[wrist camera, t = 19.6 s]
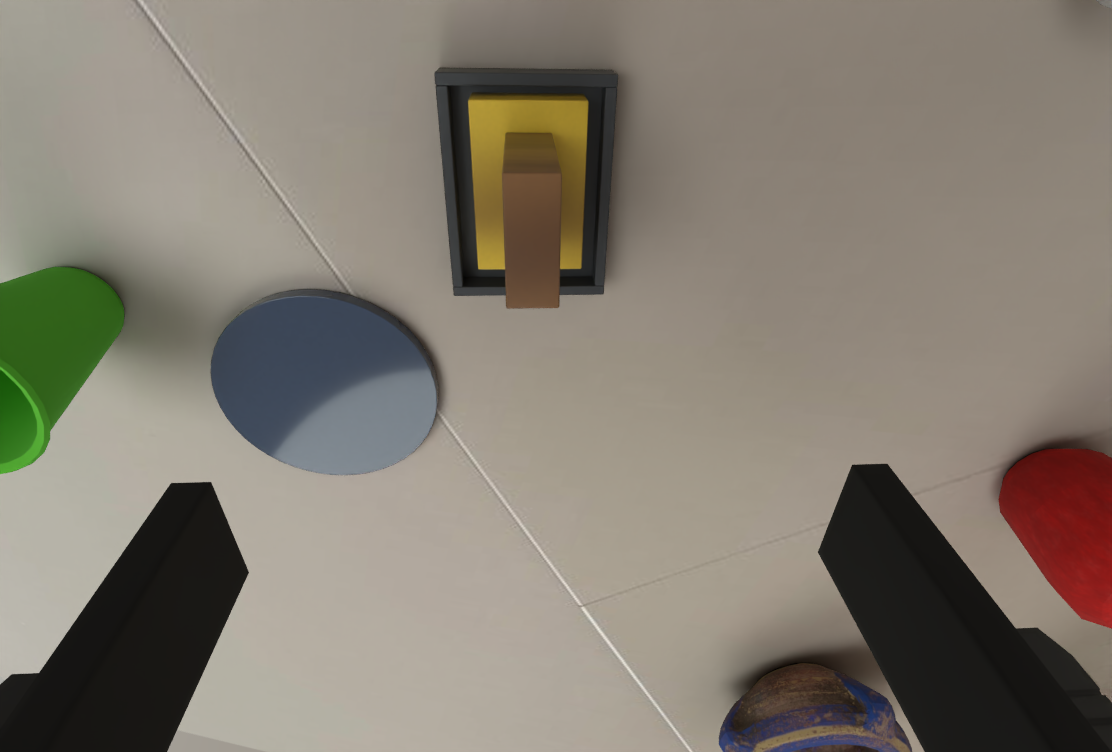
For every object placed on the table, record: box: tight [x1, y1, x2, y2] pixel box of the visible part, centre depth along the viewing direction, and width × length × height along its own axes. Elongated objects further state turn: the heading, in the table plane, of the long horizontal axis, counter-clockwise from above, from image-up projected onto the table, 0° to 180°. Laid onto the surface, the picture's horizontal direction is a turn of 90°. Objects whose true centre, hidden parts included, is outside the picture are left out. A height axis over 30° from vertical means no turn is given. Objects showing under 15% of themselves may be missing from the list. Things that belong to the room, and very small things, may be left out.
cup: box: [0, 267, 124, 474], centre depth 32 cm, size 9×9×11 cm
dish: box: [435, 68, 618, 296], centre depth 34 cm, size 12×9×2 cm
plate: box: [211, 289, 439, 475], centre depth 41 cm, size 15×15×1 cm
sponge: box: [468, 92, 589, 308], centre depth 29 cm, size 9×6×10 cm, turn 179°
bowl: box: [719, 663, 912, 752], centre depth 63 cm, size 18×18×10 cm
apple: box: [999, 449, 1112, 628], centre depth 44 cm, size 11×10×14 cm
